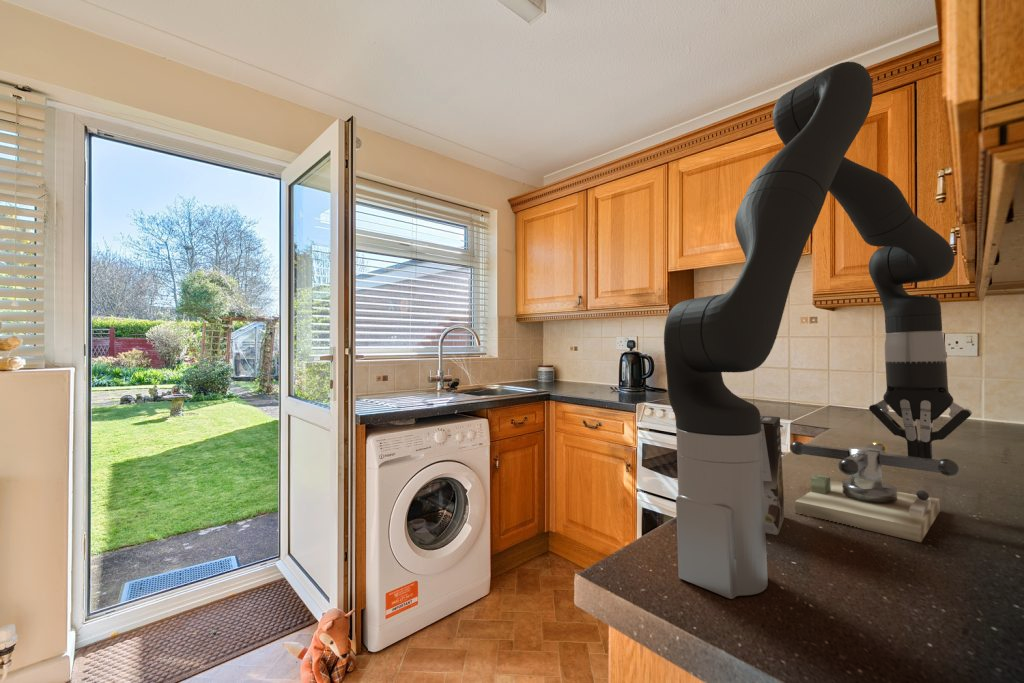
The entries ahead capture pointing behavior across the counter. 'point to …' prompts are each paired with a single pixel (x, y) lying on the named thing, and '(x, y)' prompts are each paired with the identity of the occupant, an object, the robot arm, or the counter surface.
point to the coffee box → (772, 474)
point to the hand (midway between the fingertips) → (920, 463)
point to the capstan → (872, 468)
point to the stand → (870, 510)
